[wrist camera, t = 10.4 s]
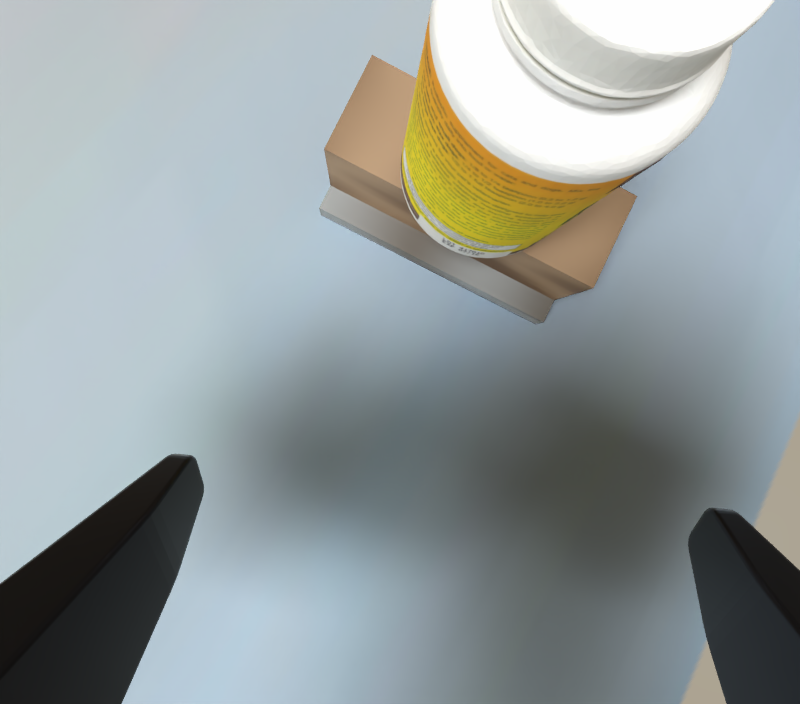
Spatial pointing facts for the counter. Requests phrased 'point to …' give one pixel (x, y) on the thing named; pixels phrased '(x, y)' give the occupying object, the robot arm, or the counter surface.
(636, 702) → the counter surface
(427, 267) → the block
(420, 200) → the supplement bottle
